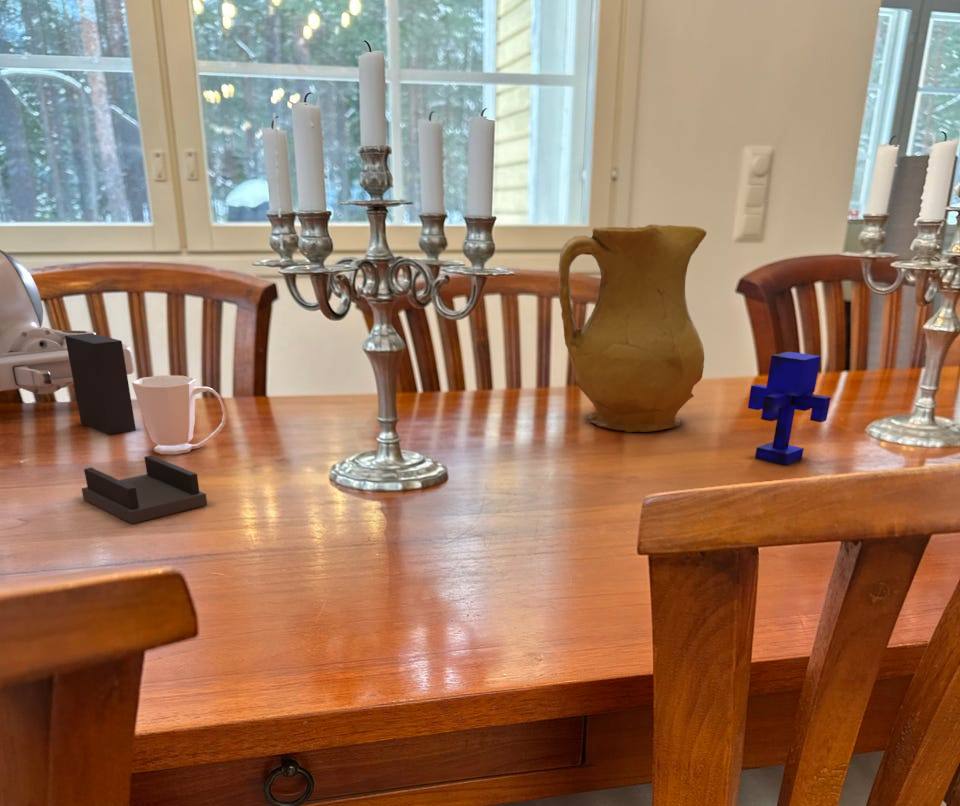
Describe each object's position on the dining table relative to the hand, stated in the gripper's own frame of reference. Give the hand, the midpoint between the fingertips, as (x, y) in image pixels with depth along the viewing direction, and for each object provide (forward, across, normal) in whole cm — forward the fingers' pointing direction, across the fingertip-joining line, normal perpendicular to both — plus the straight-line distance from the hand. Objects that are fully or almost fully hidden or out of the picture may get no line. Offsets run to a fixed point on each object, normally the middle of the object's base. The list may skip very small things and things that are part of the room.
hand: (81, 374), depth 116 cm
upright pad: (+5, 0, +6) cm, 8 cm away
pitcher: (+49, +54, +6) cm, 73 cm away
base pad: (+36, -12, +6) cm, 38 cm away
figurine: (+73, +51, +6) cm, 89 cm away
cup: (+21, +2, +6) cm, 22 cm away
